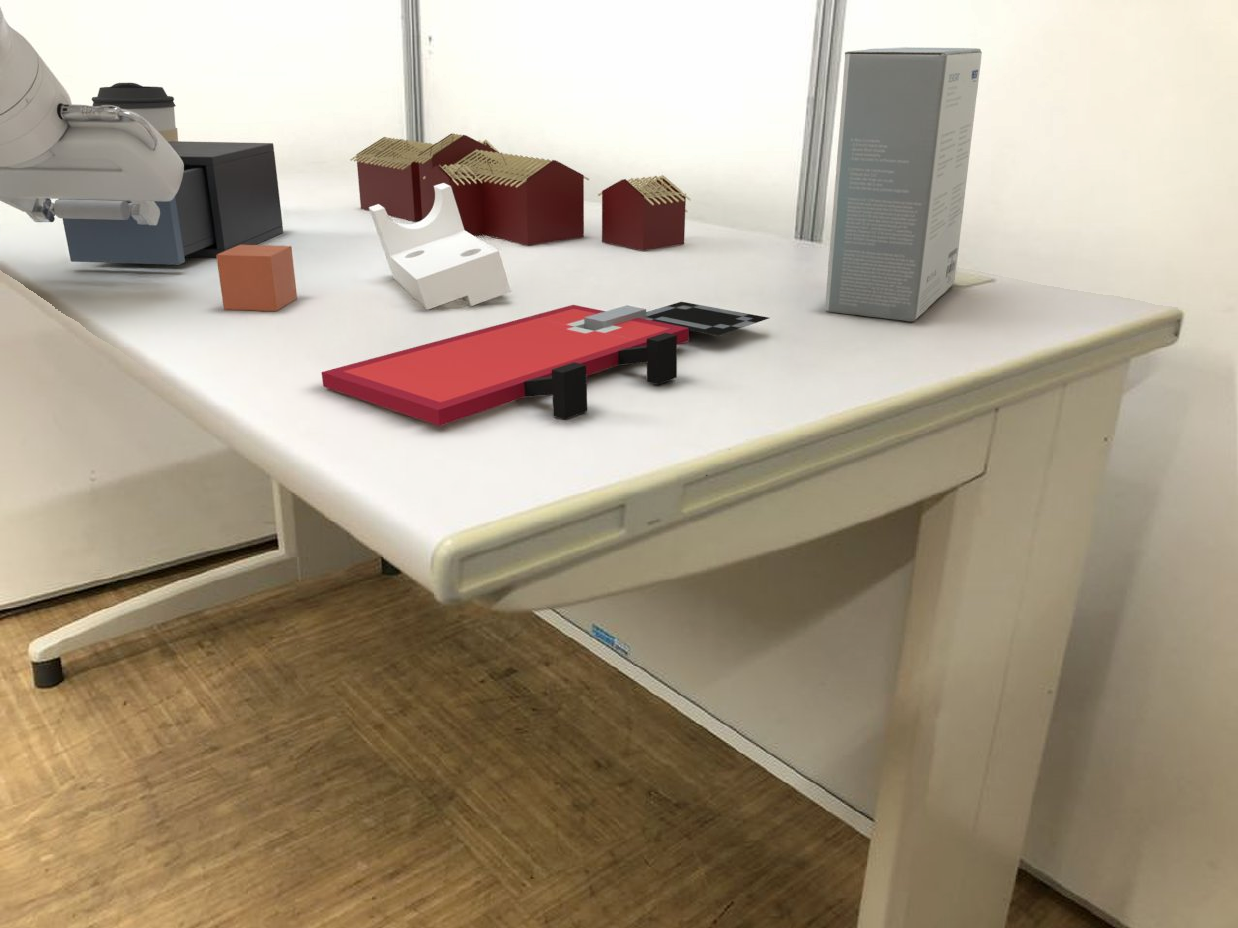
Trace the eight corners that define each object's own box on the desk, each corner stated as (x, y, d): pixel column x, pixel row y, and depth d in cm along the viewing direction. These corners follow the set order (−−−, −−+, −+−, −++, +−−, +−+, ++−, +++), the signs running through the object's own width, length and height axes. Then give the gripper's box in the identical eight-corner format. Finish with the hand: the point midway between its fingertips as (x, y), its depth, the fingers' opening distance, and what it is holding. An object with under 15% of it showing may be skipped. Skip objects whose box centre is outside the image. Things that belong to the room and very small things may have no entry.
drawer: (155, 274, 89) (140, 183, 86) (42, 271, 90) (23, 180, 87) (242, 238, 106) (232, 160, 103) (146, 236, 107) (133, 158, 104)
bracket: (396, 287, 94) (368, 207, 90) (468, 262, 96) (443, 182, 92) (430, 320, 83) (400, 230, 79) (510, 291, 85) (484, 202, 81)
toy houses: (341, 210, 130) (333, 126, 126) (476, 197, 142) (473, 120, 138) (563, 266, 99) (562, 157, 95) (711, 242, 111) (715, 145, 107)
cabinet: (226, 257, 101) (212, 157, 97) (113, 254, 102) (95, 154, 98) (283, 232, 115) (273, 143, 111) (184, 230, 115) (170, 141, 112)
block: (223, 309, 82) (215, 254, 80) (246, 297, 86) (239, 244, 84) (276, 311, 81) (270, 256, 80) (297, 298, 86) (291, 245, 84)
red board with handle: (791, 334, 75) (636, 304, 84) (793, 296, 74) (636, 270, 83) (485, 449, 55) (324, 393, 64) (482, 399, 53) (318, 350, 63)
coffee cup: (199, 216, 124) (180, 85, 119) (118, 222, 120) (95, 85, 114) (181, 206, 131) (163, 82, 126) (105, 212, 127) (82, 82, 121)
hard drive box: (870, 277, 96) (895, 47, 88) (954, 286, 92) (987, 48, 85) (820, 312, 83) (844, 47, 75) (916, 324, 80) (950, 48, 72)
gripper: (145, 75, 77) (221, 190, 90) (-109, 71, 79) (1, 185, 92) (124, 142, 75) (205, 251, 88) (-138, 137, 76) (-21, 244, 89)
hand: (99, 217), depth 90 cm, fingers open, 8 cm apart
